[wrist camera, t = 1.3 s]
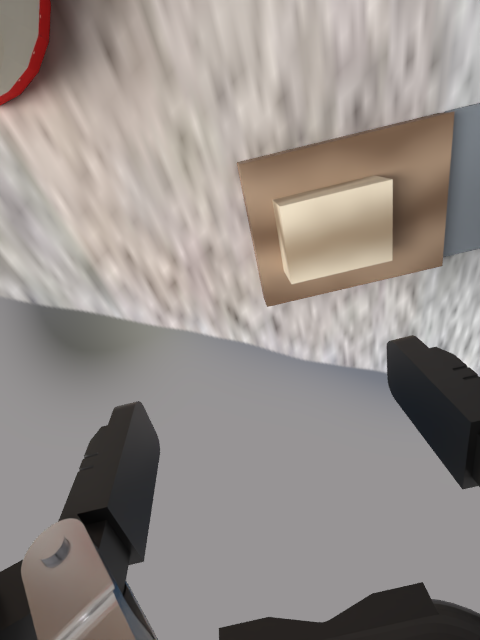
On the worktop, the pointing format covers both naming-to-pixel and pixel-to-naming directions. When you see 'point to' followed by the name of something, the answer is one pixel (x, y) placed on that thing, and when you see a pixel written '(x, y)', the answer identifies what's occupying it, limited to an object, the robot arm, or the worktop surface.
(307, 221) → the tile
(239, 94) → the worktop surface
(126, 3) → the worktop surface
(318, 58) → the worktop surface
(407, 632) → the robot arm
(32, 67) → the white crested dome
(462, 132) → the mat
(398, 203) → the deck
